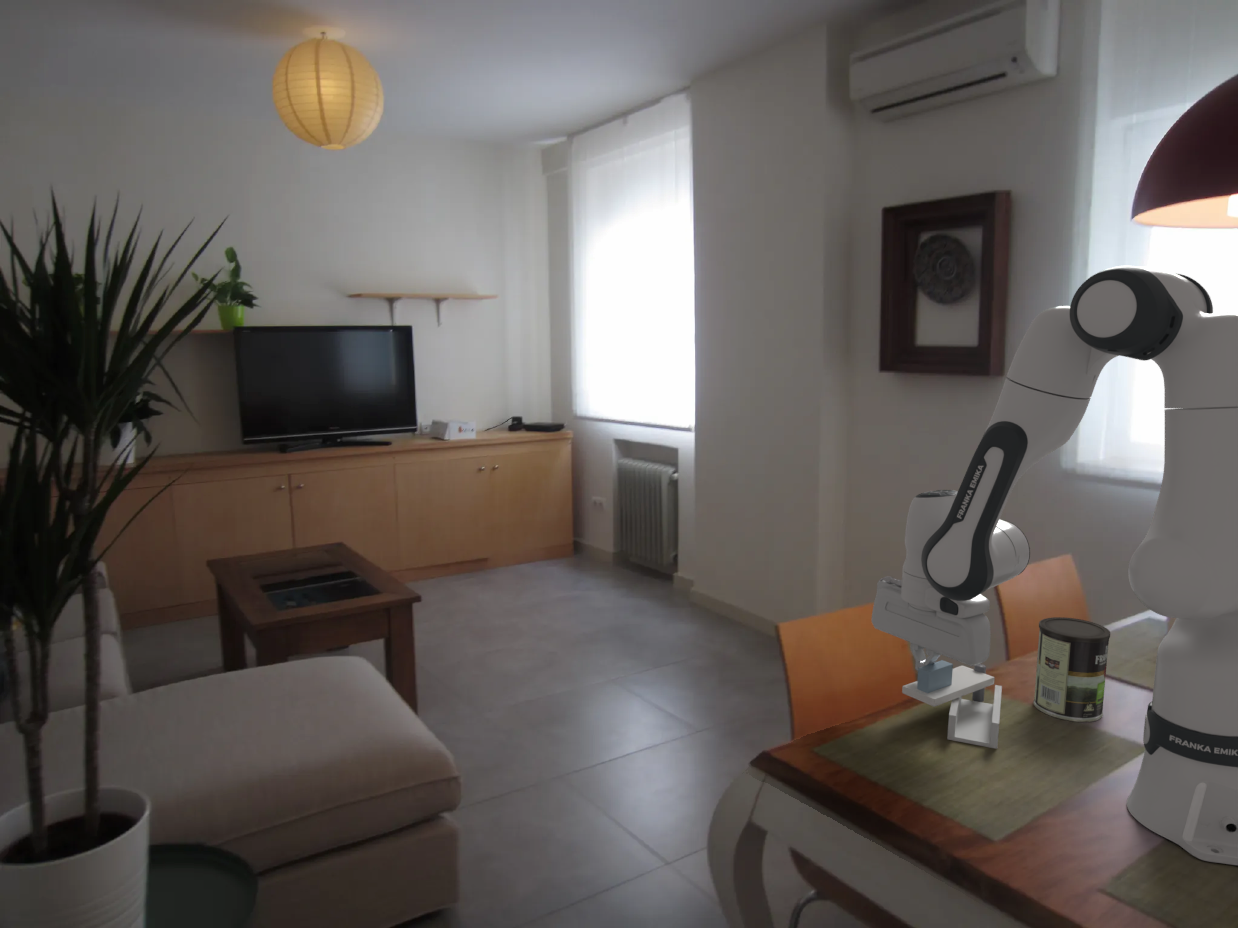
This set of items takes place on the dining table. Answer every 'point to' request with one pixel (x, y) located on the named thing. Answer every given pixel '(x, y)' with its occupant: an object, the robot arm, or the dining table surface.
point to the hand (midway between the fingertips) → (924, 671)
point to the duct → (975, 721)
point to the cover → (948, 683)
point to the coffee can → (1071, 669)
